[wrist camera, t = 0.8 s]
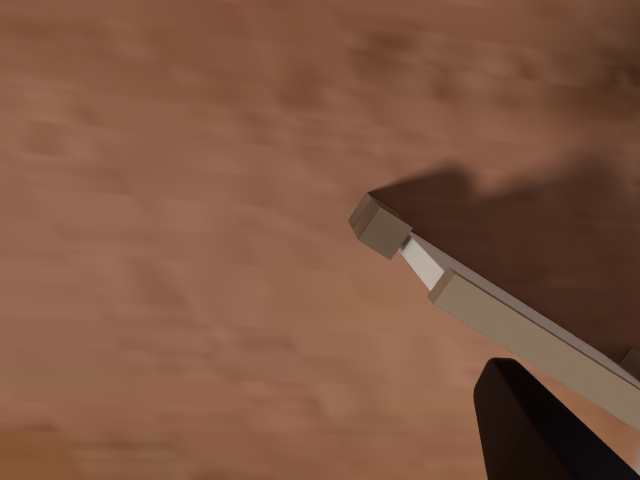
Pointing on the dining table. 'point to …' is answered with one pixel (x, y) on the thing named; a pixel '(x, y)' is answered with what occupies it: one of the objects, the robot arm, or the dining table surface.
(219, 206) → the dining table surface
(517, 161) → the dining table surface
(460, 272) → the gate
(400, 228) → the gate frame
